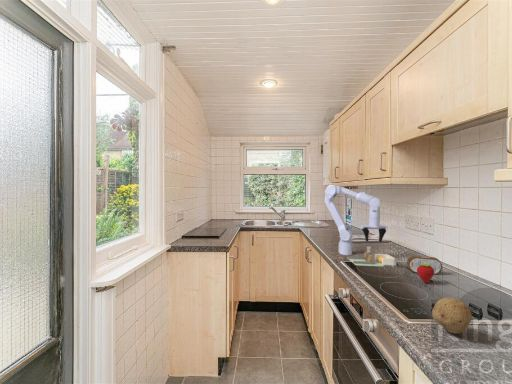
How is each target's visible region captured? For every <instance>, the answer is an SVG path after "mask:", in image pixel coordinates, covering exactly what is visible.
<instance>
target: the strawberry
mask: <svg viewBox="0 0 512 384" xmlns="http://www.w3.org/2000/svg"><path fill="white" fill-rule="evenodd" d="M422 264H423V263H422ZM416 274H417V275H418V277H419V278H420V280H421V281H422V282H423V283H424V284H427V283H429V282H430V280H431V279H432V278H433V277H434V269H433V268H432V266H431V265H426V264H423V265H422V266H419V267H418V268H417V273H416Z"/></svg>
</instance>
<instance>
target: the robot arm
mask: <svg viewBox="0 0 512 384" xmlns="http://www.w3.org/2000/svg"><path fill="white" fill-rule="evenodd" d="M339 194H345V195H346V196H350V197H352V198H355V199H356V201H357V202H359V203H362V204H364V205H369V211H368V213H369V214H368V224H361V225H360V229H361V230H362V232H363V235H364V238H365V241H366V242H369V234H370V230H378V241H379V242H380V243H382V242H383V239H384V236H385V234H386V233H387V230H388V226H387V225H380V221H381V207H380V206H381V200H380V198H378V197H376V196H374V195H370V194H367V193H366V192H365V191H360V192H356V191H354V190H351V189H348V188H346V187H343V186H338V185H336V184H330V185H328V186H326V188H325V190H324V203H325V205H326V208H327V210H328V211H329V213H330V215H331V217H332V219H333V221H334V223H335V225H336V227H337V230H338V232H339V238H340V239H339V241H338V248H337V249H338V254H340V255H343V256H352V255H353V240H352V237H353V235H354V234H353V232H352V230H351V229H350V228H348V226H347V224H346V223H345V221H344V218H343V217H342V215H341V213H340V212H339V210H338V207H337V205H336V204H335V202H334V200H335V198H336V196H337V195H339Z"/></svg>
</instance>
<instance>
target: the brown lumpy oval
mask: <svg viewBox="0 0 512 384" xmlns="http://www.w3.org/2000/svg"><path fill="white" fill-rule="evenodd" d="M472 315H473V314H472V311H471V309H470V308H469V307H468V305H467V304H466V303H465V302H464V301H462V300H460V299H457V298H455V297H443V298H441V299H438V300H437V302H436V303H435V304H434V306H433V308H432V311H431V316H432V318H433V320H434V321H435V322H436V323H437V324H438V325H439V326H441V327H442V328H444V329H445V330H446V331H447V332H448V333H450V334H452V333H453V334H452V335H458V334H461V333H463V332H465V331H466V329H467V328H468V327H469V325H470V323H471V321H472Z"/></svg>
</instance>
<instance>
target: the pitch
mask: <svg viewBox="0 0 512 384" xmlns="http://www.w3.org/2000/svg"><path fill="white" fill-rule="evenodd" d="M379 257H384V258H382V263H379V262H378V259H379ZM346 259H348V260H349V261H350V262H351V263H353V264H354V266H363V267H364V266H367V267H368V266H369V267H385V266H397V259H396V258H395V257H394V256H391V255H390V254H387V253H385V254H384V253H383V254H382V253H375V254H374V262H367V261H366V260H365V259H364V256H352V255H347V256H346Z"/></svg>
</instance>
